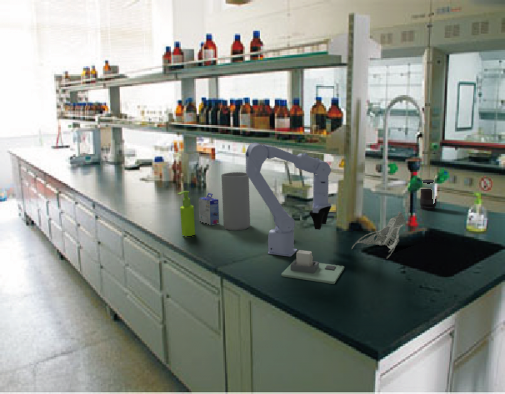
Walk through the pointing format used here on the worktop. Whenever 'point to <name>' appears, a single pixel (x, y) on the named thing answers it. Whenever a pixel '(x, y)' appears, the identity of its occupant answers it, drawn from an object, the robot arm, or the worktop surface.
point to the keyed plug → (304, 258)
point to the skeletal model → (386, 233)
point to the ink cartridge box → (208, 210)
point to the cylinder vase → (235, 201)
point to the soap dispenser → (187, 215)
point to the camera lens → (427, 197)
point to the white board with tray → (314, 272)
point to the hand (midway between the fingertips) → (320, 226)
